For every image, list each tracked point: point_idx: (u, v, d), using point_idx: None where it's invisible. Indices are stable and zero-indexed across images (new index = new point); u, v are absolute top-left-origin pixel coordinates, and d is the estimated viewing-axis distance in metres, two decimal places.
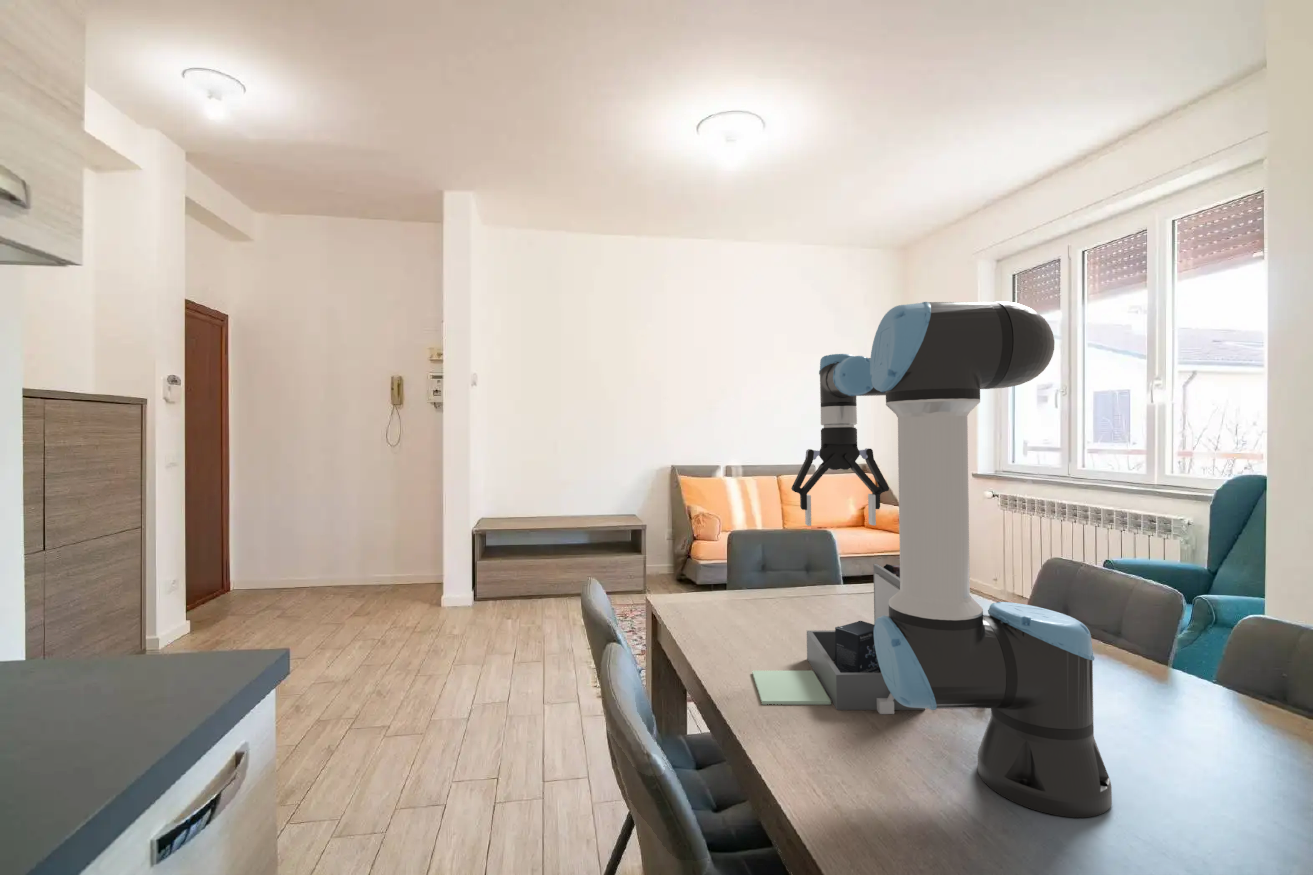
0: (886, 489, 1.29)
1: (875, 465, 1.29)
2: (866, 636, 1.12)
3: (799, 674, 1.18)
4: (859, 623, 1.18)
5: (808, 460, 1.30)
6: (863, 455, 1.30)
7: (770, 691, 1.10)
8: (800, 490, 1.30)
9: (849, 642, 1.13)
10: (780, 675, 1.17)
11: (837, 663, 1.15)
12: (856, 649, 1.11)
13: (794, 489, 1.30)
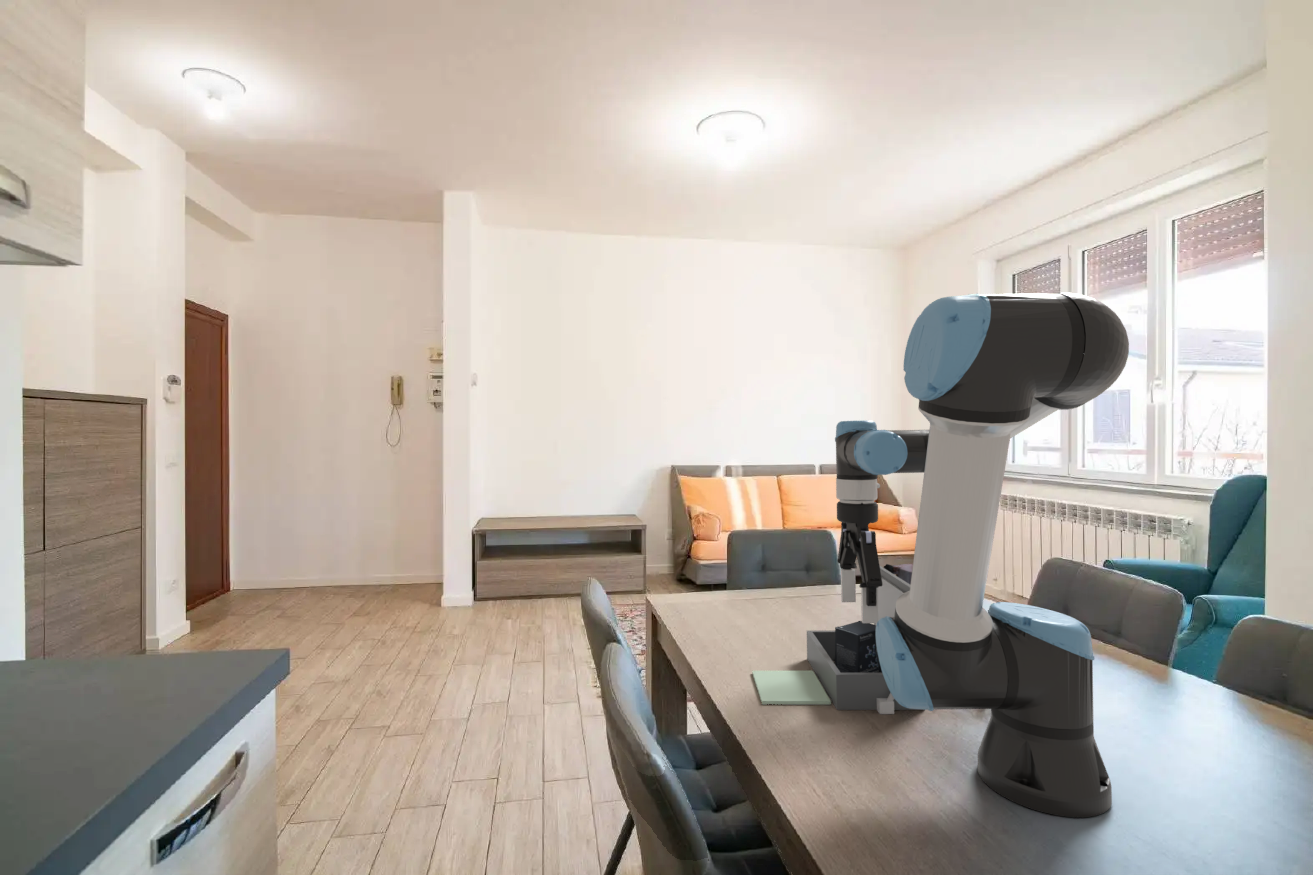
0: (866, 584, 1.06)
1: (863, 552, 1.08)
2: (866, 636, 1.12)
3: (799, 674, 1.18)
4: (859, 623, 1.18)
5: (841, 532, 1.22)
6: None
7: (770, 691, 1.10)
8: None
9: (849, 642, 1.13)
10: (780, 675, 1.17)
11: (837, 663, 1.15)
12: (856, 649, 1.11)
13: (837, 560, 1.26)
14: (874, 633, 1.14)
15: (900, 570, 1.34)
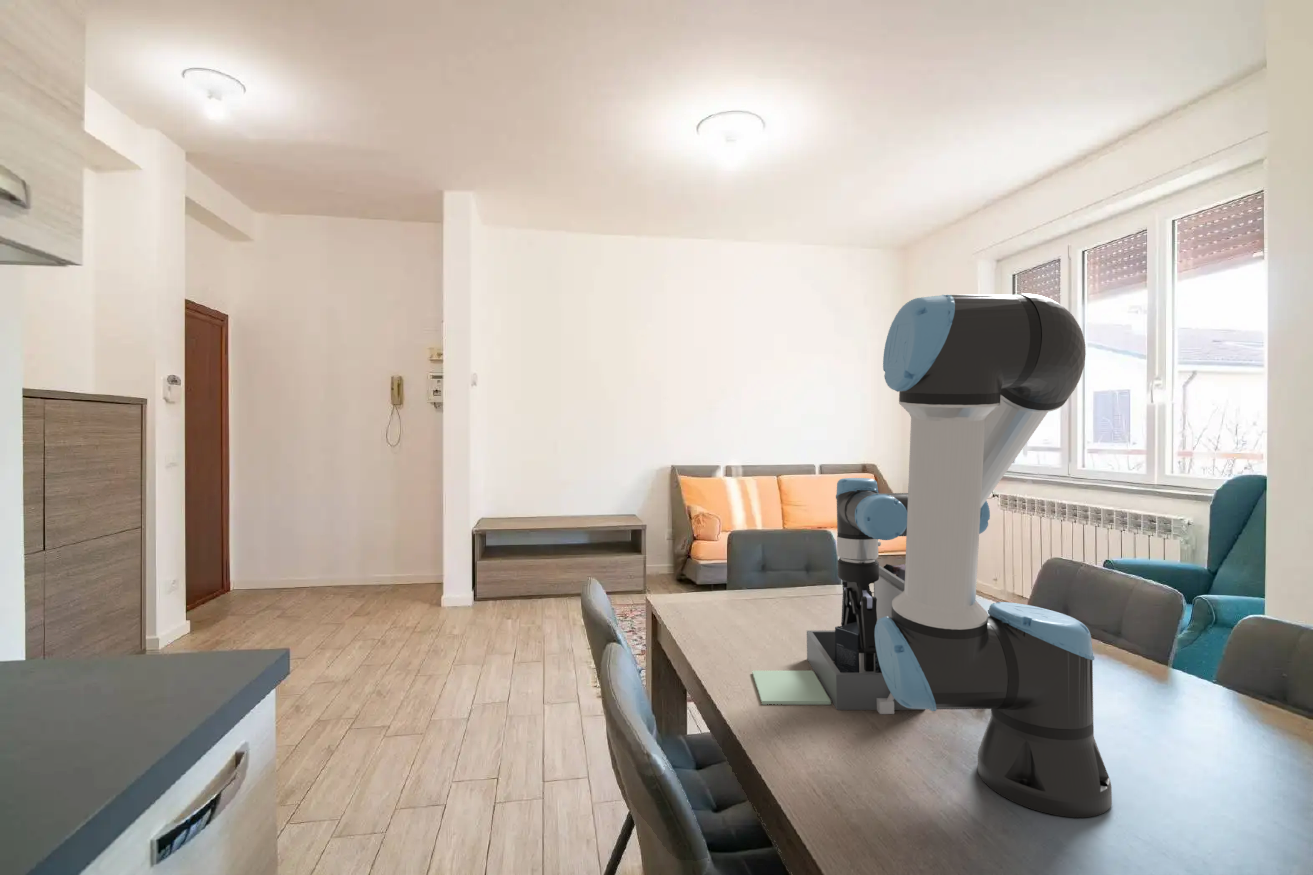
0: None
1: (863, 618, 1.09)
2: None
3: (799, 674, 1.18)
4: None
5: (843, 592, 1.22)
6: None
7: (770, 691, 1.10)
8: None
9: (849, 641, 1.13)
10: (780, 675, 1.17)
11: (837, 663, 1.15)
12: (856, 649, 1.11)
13: None
14: None
15: (900, 570, 1.34)
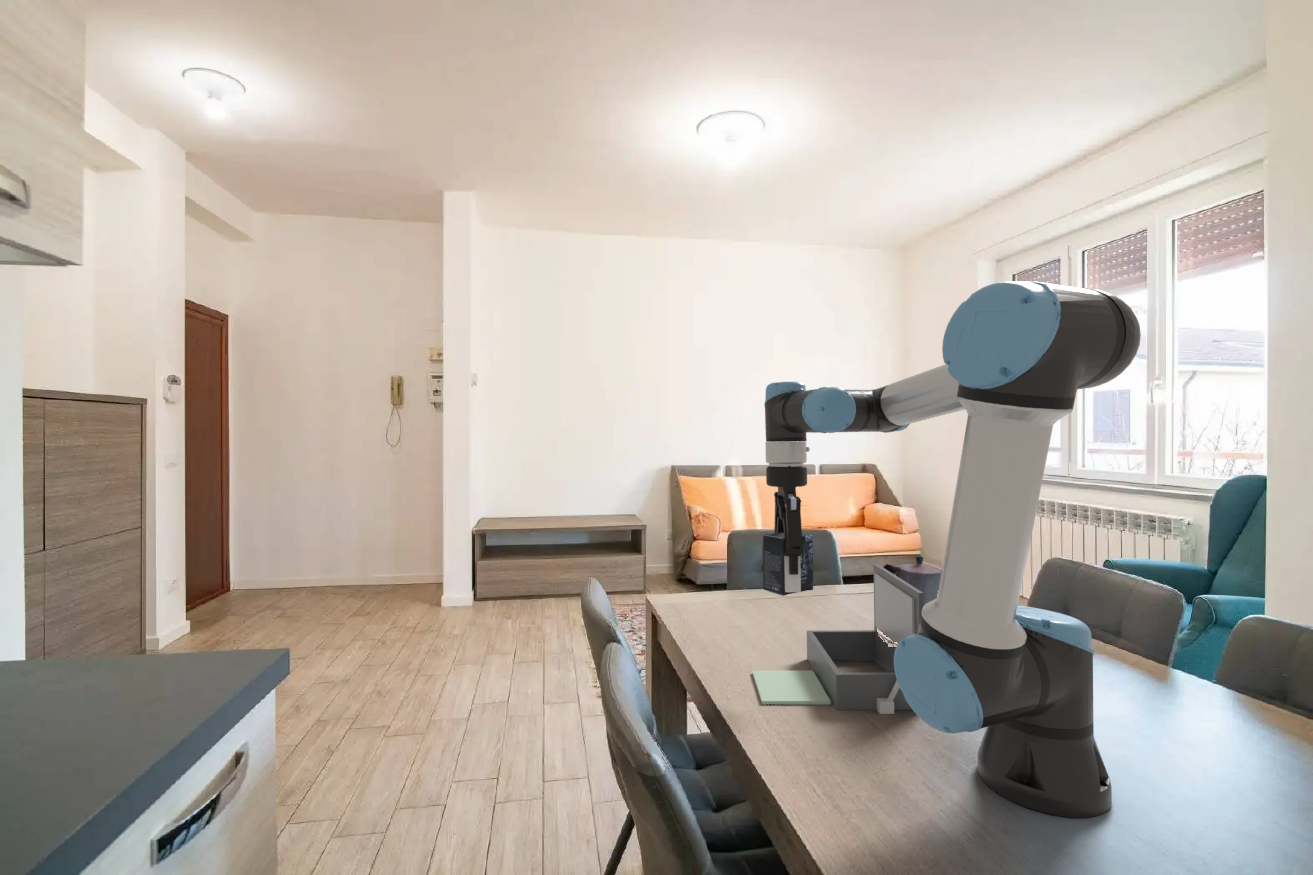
0: (787, 552, 1.06)
1: (787, 519, 1.07)
2: None
3: (799, 674, 1.18)
4: None
5: (775, 504, 1.20)
6: None
7: (770, 691, 1.10)
8: None
9: (775, 547, 1.10)
10: (780, 675, 1.17)
11: (765, 571, 1.13)
12: (781, 554, 1.09)
13: None
14: (802, 539, 1.11)
15: (900, 570, 1.34)
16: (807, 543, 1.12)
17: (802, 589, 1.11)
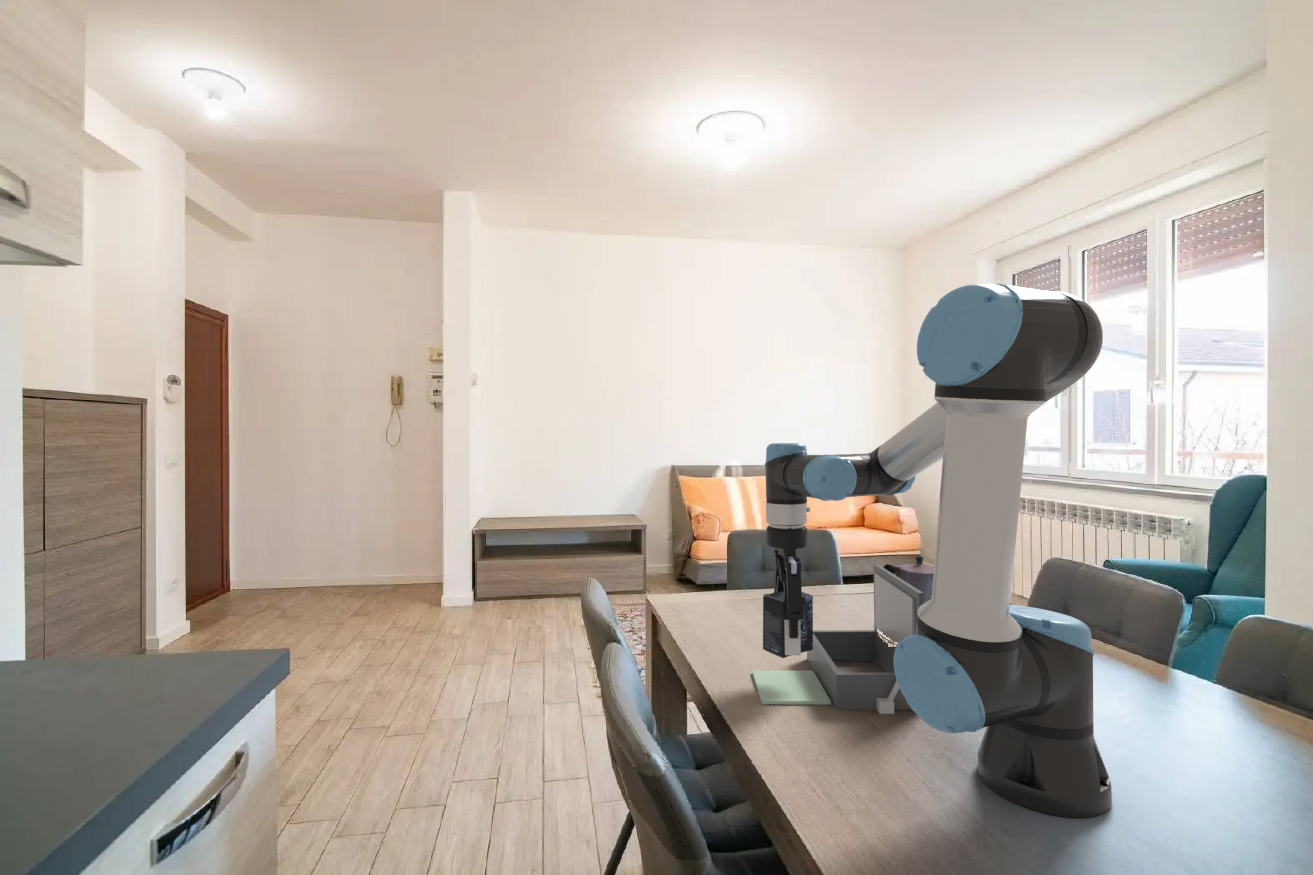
0: (787, 616, 1.06)
1: (787, 583, 1.07)
2: None
3: (799, 674, 1.18)
4: None
5: (775, 561, 1.19)
6: None
7: (770, 691, 1.10)
8: None
9: (775, 609, 1.10)
10: (780, 675, 1.17)
11: (765, 631, 1.13)
12: (781, 616, 1.09)
13: None
14: (802, 600, 1.11)
15: (900, 570, 1.34)
16: (807, 604, 1.12)
17: (802, 650, 1.11)
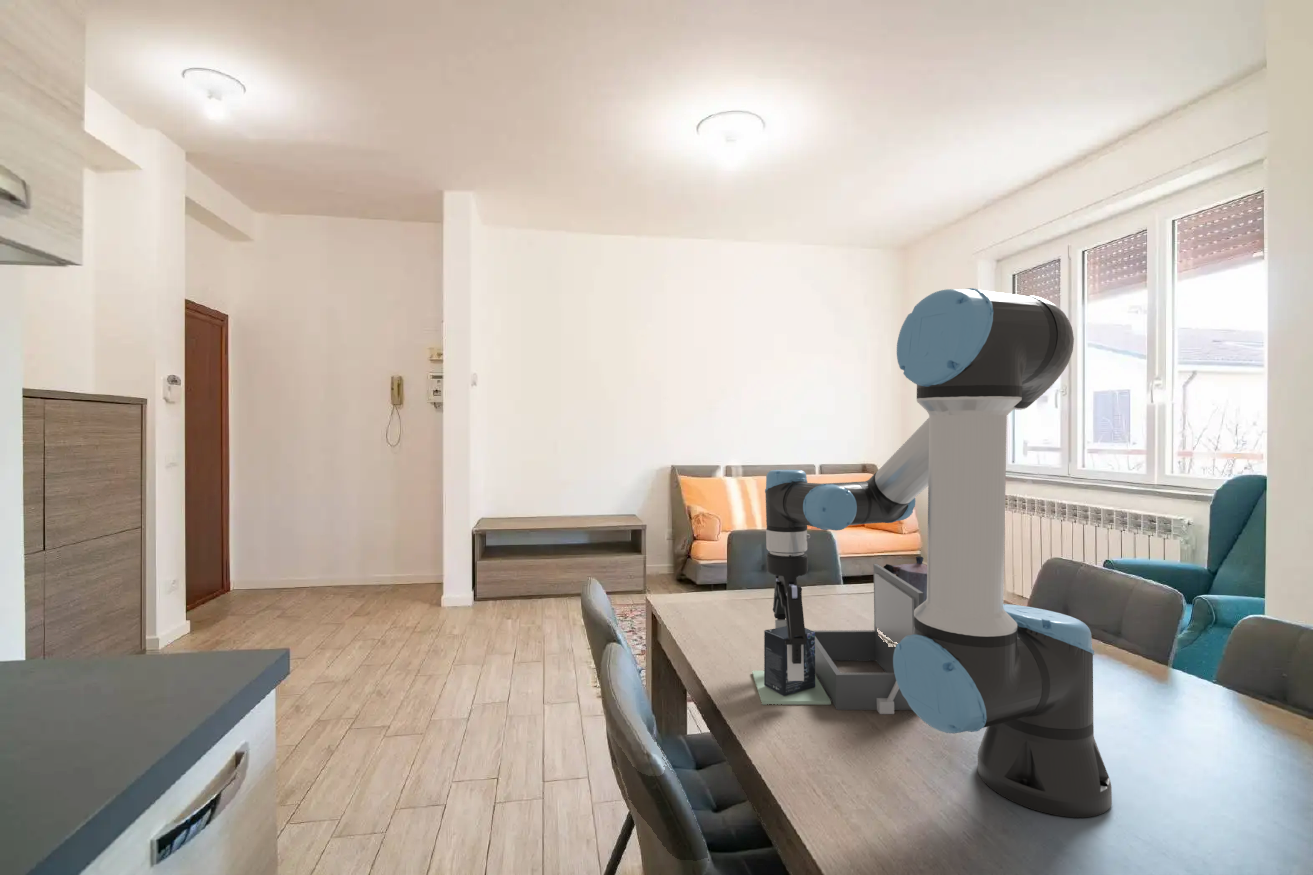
0: (790, 641, 1.04)
1: (788, 608, 1.06)
2: None
3: None
4: None
5: (775, 582, 1.20)
6: None
7: (770, 691, 1.10)
8: None
9: (776, 645, 1.09)
10: None
11: (766, 667, 1.12)
12: (782, 654, 1.08)
13: (773, 609, 1.23)
14: None
15: (900, 570, 1.34)
16: (808, 641, 1.11)
17: (803, 688, 1.10)
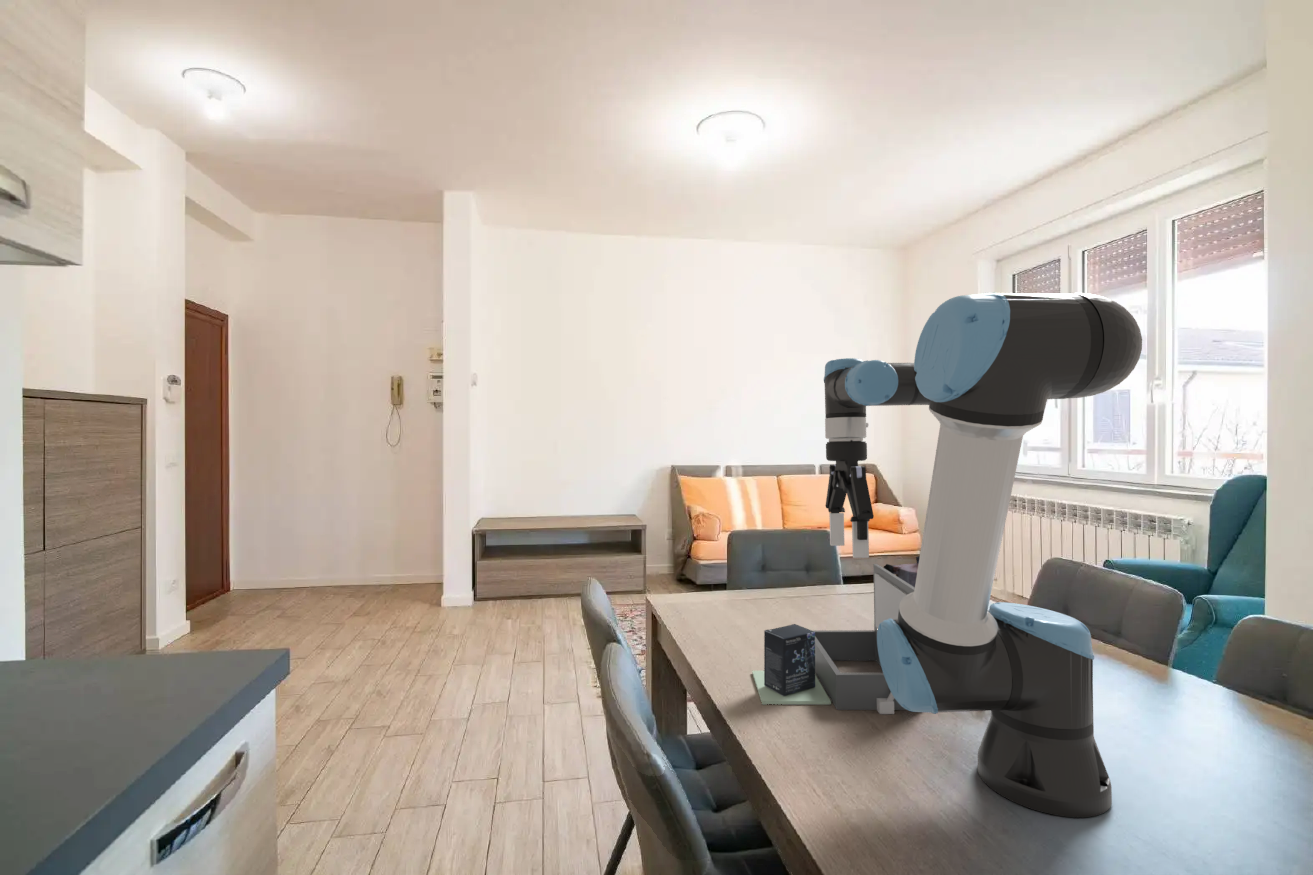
0: (858, 516, 1.06)
1: (854, 486, 1.08)
2: (794, 640, 1.09)
3: None
4: (791, 626, 1.14)
5: (830, 476, 1.23)
6: None
7: (770, 691, 1.10)
8: None
9: (776, 645, 1.09)
10: None
11: (766, 667, 1.12)
12: (782, 654, 1.08)
13: (825, 505, 1.26)
14: (803, 637, 1.10)
15: (900, 570, 1.34)
16: (808, 641, 1.11)
17: (803, 688, 1.10)
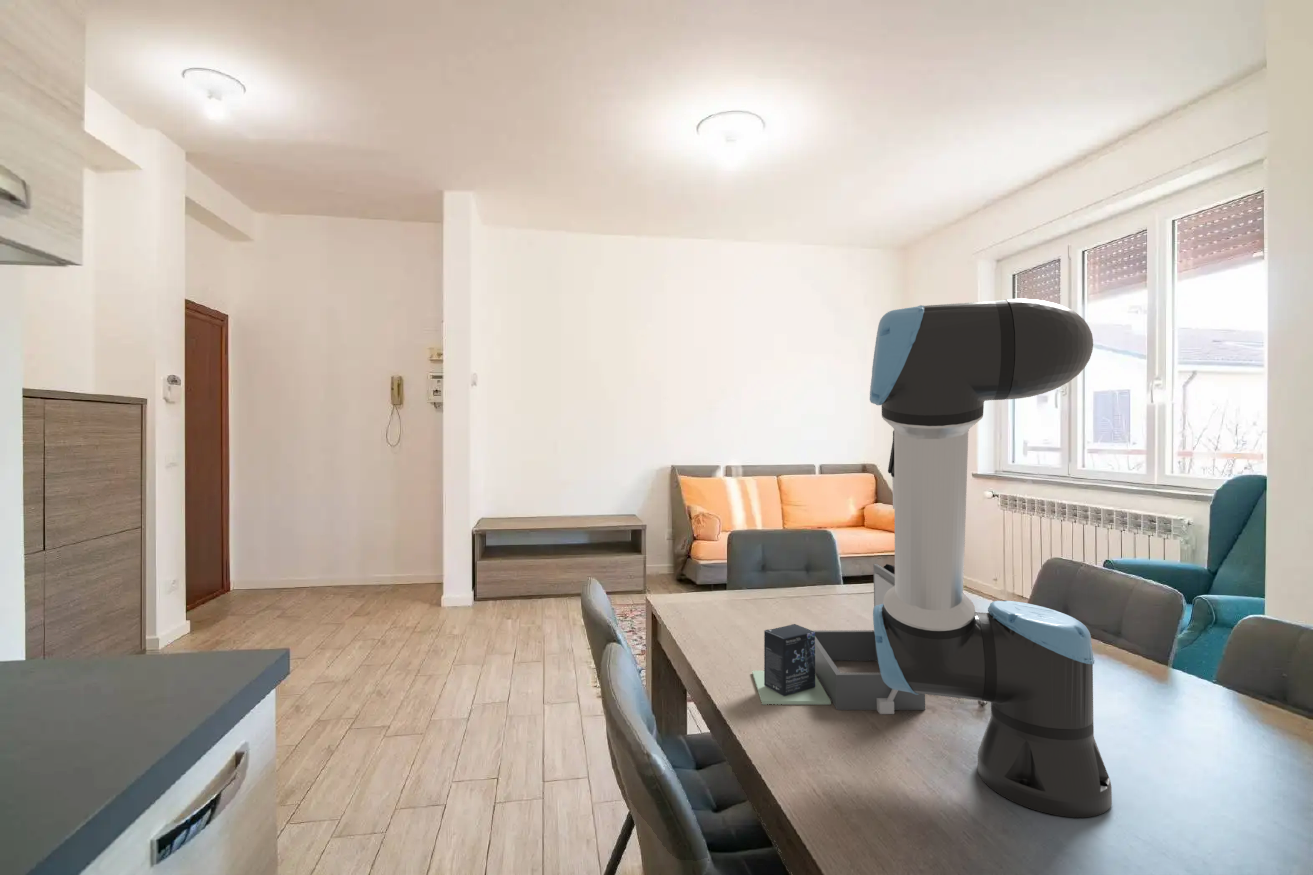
0: None
1: None
2: (794, 640, 1.09)
3: None
4: (791, 626, 1.14)
5: (893, 441, 1.26)
6: None
7: (770, 691, 1.10)
8: None
9: (776, 645, 1.09)
10: None
11: (766, 667, 1.12)
12: (782, 654, 1.08)
13: (888, 470, 1.29)
14: (803, 637, 1.10)
15: None
16: (808, 641, 1.11)
17: (803, 688, 1.10)
